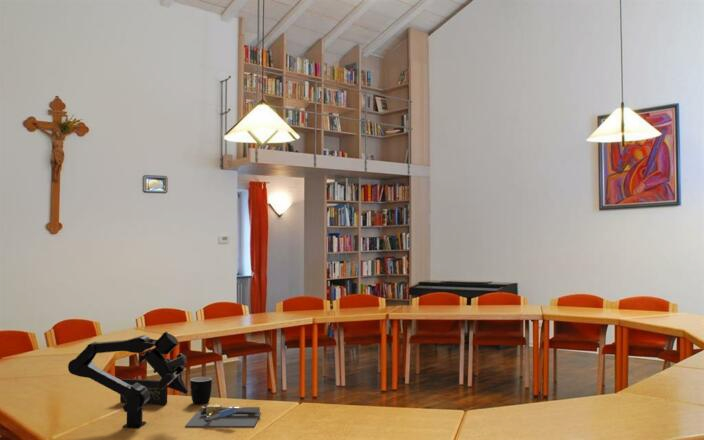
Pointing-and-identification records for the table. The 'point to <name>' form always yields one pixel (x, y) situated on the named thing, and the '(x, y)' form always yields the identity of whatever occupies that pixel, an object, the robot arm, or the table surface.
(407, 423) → the table surface
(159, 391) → the nameplate
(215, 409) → the valve pipe
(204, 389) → the mug
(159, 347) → the robot arm
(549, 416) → the table surface
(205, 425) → the gray mounting plate
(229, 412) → the valve lever
